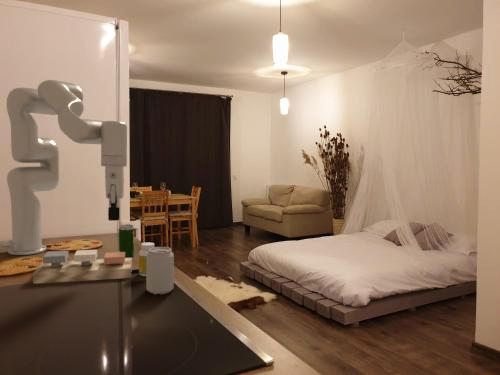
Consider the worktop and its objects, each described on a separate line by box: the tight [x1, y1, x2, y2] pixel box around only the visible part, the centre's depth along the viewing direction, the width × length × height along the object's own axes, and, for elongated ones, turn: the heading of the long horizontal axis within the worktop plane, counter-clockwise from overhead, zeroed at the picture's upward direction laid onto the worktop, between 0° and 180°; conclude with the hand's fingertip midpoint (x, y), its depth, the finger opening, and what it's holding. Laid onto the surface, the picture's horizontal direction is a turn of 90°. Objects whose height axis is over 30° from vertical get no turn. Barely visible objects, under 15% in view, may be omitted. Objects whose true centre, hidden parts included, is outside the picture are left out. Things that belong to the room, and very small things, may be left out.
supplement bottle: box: [138, 242, 155, 277], centre depth 125 cm, size 5×5×10 cm
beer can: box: [117, 223, 135, 260], centre depth 141 cm, size 5×5×12 cm
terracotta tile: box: [103, 251, 125, 265], centre depth 125 cm, size 6×6×4 cm
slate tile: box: [42, 250, 69, 267], centre depth 121 cm, size 6×6×4 cm
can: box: [145, 246, 175, 295], centre depth 111 cm, size 8×8×12 cm
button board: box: [32, 258, 133, 285], centre depth 123 cm, size 27×12×3 cm, turn 106°
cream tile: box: [73, 249, 98, 265], centre depth 123 cm, size 6×6×4 cm
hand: (113, 219), depth 124 cm, fingers closed
